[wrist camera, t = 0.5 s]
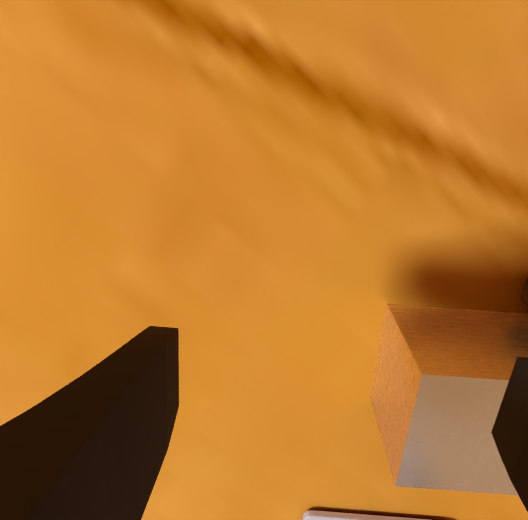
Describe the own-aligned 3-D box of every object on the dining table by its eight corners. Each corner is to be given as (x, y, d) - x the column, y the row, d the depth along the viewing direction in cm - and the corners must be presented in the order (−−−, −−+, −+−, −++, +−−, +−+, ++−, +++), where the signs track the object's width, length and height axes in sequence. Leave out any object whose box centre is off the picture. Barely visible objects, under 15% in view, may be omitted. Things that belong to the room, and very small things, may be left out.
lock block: (517, 406, 20) (587, 500, 16) (369, 395, 20) (395, 486, 16) (549, 313, 18) (640, 389, 14) (386, 302, 18) (421, 374, 14)
